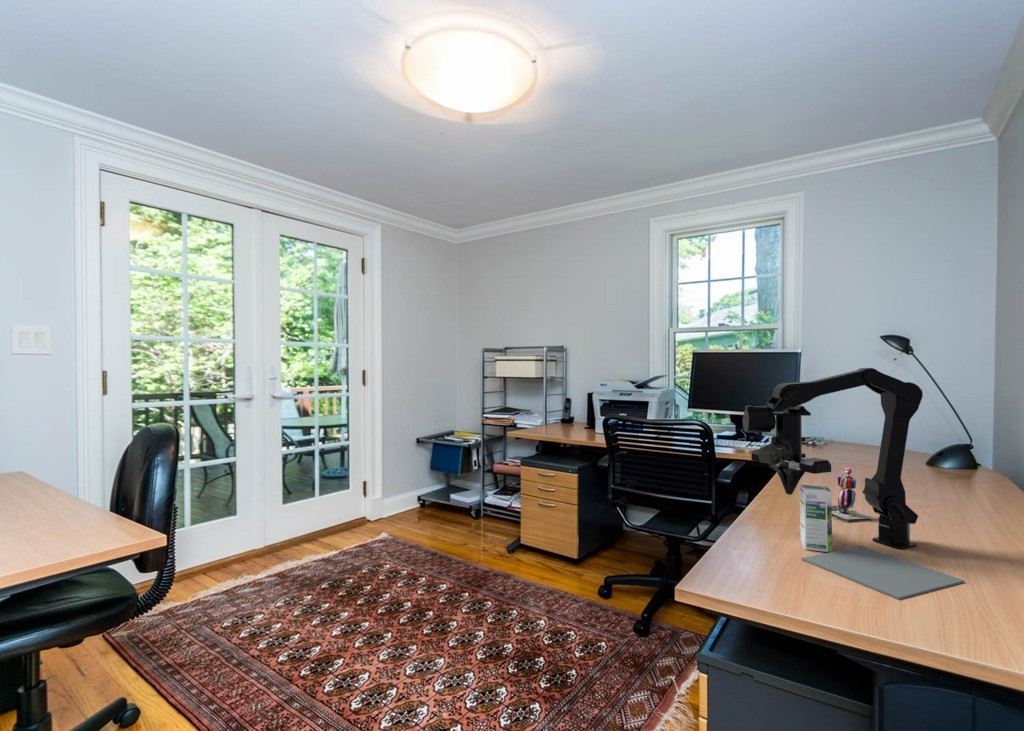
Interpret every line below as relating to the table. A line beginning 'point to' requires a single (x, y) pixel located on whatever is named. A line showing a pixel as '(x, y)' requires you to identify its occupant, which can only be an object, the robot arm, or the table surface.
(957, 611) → the table surface
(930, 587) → the topple mat
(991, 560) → the table surface
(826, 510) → the syrup box
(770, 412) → the robot arm
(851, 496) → the statue
